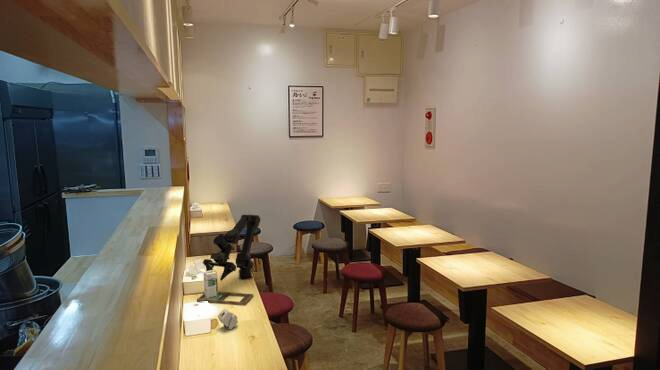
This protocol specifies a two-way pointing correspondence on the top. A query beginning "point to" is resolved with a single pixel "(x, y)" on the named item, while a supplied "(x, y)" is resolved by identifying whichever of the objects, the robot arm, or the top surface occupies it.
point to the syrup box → (210, 284)
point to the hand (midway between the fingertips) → (213, 279)
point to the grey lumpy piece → (227, 319)
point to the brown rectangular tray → (224, 295)
